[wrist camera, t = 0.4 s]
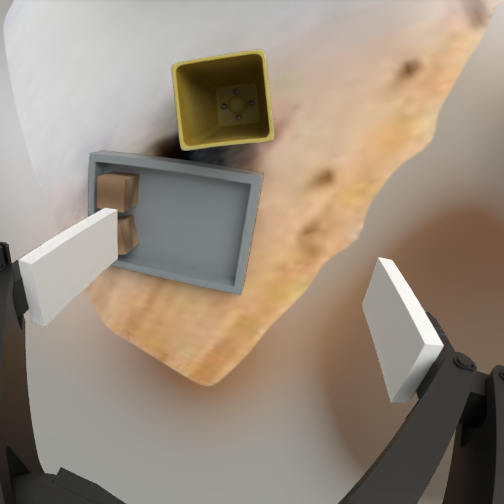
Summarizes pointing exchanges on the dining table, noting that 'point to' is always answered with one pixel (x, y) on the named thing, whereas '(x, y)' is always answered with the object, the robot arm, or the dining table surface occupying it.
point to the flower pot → (223, 100)
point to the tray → (186, 218)
